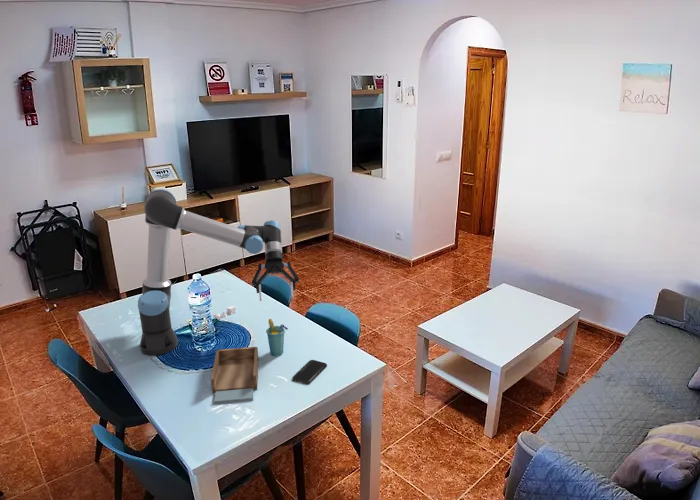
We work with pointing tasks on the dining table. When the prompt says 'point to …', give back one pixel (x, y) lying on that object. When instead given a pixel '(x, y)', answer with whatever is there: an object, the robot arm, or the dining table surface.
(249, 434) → the dining table surface
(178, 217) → the robot arm
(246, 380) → the tray
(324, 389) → the dining table surface
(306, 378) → the phone
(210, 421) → the dining table surface
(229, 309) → the game pieces
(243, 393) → the panel
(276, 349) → the cup
